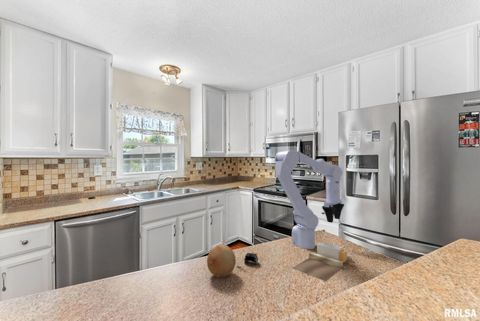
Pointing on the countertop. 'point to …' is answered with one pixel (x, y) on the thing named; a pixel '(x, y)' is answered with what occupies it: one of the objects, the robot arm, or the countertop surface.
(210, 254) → the onion
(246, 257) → the black chunky block
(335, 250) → the white tall block
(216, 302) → the countertop surface
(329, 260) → the board
